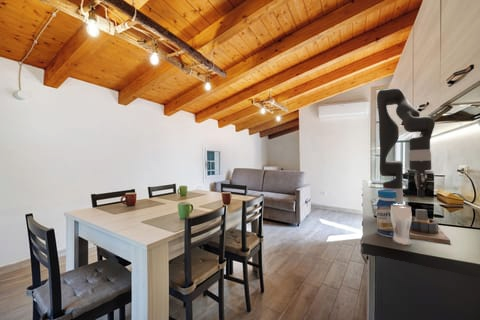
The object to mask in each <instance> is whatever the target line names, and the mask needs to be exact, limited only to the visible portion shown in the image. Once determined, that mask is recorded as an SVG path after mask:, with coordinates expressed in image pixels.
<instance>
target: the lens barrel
mask: <svg viewBox="0 0 480 320" xmlns="http://www.w3.org/2000/svg"><path fill="white" fill-rule="evenodd" d="M415 218H416V216H412V223H411V228H410V230H412V231H415V232H419V233H426V234H437V233H438V227H439V222H438V221H437V220H435V219H432V218H428V220H429V223H425V222H418V221H415Z"/></svg>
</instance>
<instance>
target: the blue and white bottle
mask: <svg viewBox="0 0 480 320" xmlns="http://www.w3.org/2000/svg"><path fill="white" fill-rule="evenodd" d="M377 197H378V198H379V199H378V200H377V202H376V209H375V210H376V211H375V212H376V227H377V228H376V231H377V234H378V235H381V236H383V237H388V238H393V228H392V223H391V218H390V208H391V204H398V203H397V202H396V201H395V199H396V191H393V190H383V189H378V190H377Z"/></svg>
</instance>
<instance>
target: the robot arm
mask: <svg viewBox="0 0 480 320" xmlns="http://www.w3.org/2000/svg"><path fill="white" fill-rule="evenodd" d="M376 103H377V105H376V106H377V112H378V120H379V121H378V132H379V133H378V136H379V173H380V175H381V176H382V177H395V178H393V179H391V180H388V181H385V182H382V183H383V184H382V190H393V191H396V199H395V201H396V202H397V203H398V204H401V205H404V192H403V191H404V190H403V189H404V188H403V162H402V161H401V160H387V157H388V155H389V153H390V151H391V150H392V149H393V147H394V146H395V145H396V143H397V142H398V141H399V139H400V137H399V135H400V133H399V132H400V131H399V126H398V124H397V122H396V121H395V120H394V119H393V118H392V117H391V115H390V114H389V111H388V107H387V106H393V105H397V107H396V109H395V114H396V115H397V117H399V119H400V120H401V121H402V124H403V128H404V130H405V131H406V132H408V133H419V136H415V137H411V138H410V139H409V153H408V154H409V155H408V157H409V158H408V159H409V161H408V163H409V164H408V166H409V170H410V171H415V173H413V174H414V175H413V176H414V177H413V178H414V183H415V187H416V190H417V191H416V192H417V197H418V198H422V199H423V198H425V197H426V196H425V189H427V183H428V182H427V180H428V174H426V171H431V170H432V153H431V139H432V135H433V132H434V129H435V125H436V124H435V123H436V121H435V120H434V118H433V117H432V116H430V115H429V116H426V115H424V116H421V115H420V111H418V110H417V109H416V108H415V107H414V106H413V105H412V104H411V103H410V102H409V100H408V99H407V96H405V94H404V92H403V91H402V90H401V89H400V88H397V87H394V88H387V89H386V88H385V89H380V90H379V91H378V92H377V94H376Z"/></svg>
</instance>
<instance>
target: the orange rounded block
mask: <svg viewBox="0 0 480 320" xmlns="http://www.w3.org/2000/svg"><path fill="white" fill-rule="evenodd" d="M414 210H415V217H416V218H415V221H418V222H425V223H429V220H428V219H429V217H428V210H427V209H419V208H418V209H417V208H416V209H414Z"/></svg>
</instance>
